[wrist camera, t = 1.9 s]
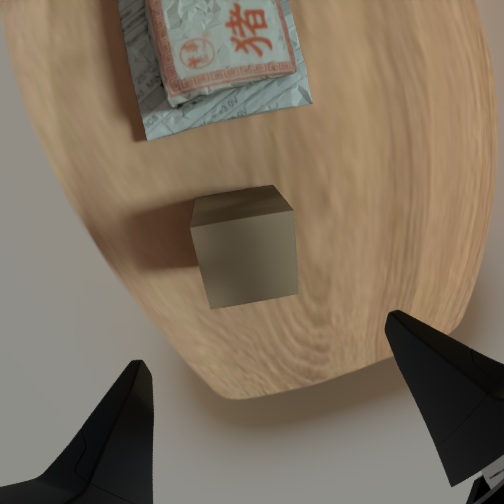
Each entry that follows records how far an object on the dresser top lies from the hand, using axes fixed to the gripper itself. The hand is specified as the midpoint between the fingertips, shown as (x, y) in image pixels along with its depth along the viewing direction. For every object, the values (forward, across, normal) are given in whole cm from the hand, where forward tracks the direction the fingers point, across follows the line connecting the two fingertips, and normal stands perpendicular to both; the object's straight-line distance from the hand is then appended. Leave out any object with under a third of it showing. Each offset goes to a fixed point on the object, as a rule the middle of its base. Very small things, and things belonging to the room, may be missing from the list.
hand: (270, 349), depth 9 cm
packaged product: (+12, 0, -16) cm, 20 cm away
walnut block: (+11, 0, 0) cm, 11 cm away
